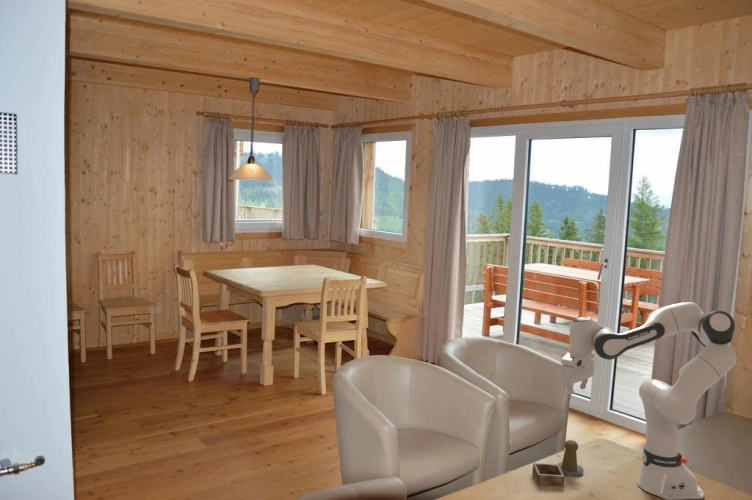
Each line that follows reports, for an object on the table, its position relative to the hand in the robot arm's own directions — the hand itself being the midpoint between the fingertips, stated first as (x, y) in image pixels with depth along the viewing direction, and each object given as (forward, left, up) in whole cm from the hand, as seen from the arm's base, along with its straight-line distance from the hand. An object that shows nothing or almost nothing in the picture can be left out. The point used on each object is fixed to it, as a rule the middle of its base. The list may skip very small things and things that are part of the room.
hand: (576, 391), depth 247 cm
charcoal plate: (+3, +9, -29) cm, 30 cm away
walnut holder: (+13, +18, -29) cm, 36 cm away
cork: (+3, +9, -28) cm, 30 cm away
